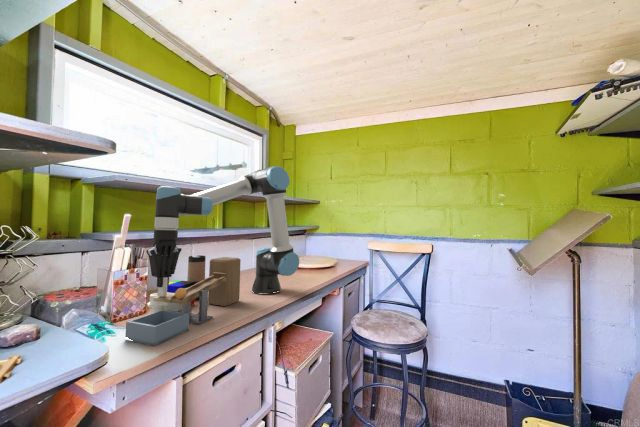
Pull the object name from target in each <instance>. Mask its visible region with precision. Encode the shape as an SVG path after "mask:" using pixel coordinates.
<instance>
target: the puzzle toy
mask: <svg viewBox="0 0 640 427" xmlns="http://www.w3.org/2000/svg"><path fill="white" fill-rule="evenodd" d="M193 285H195V282H194V281H187V280H176V279H175V280H173V281H171V280H170V281H169V285H168V286H167V292H169V293H175V292H176V290H177V289H179V288H188V287H191V286H193ZM195 302H196V300H195V299H194V300H192V301H191V307H192V306H194V305H195ZM162 310H168V311H175V312H181V311H182V304H178V303H168V305H165V306H162Z"/></svg>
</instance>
